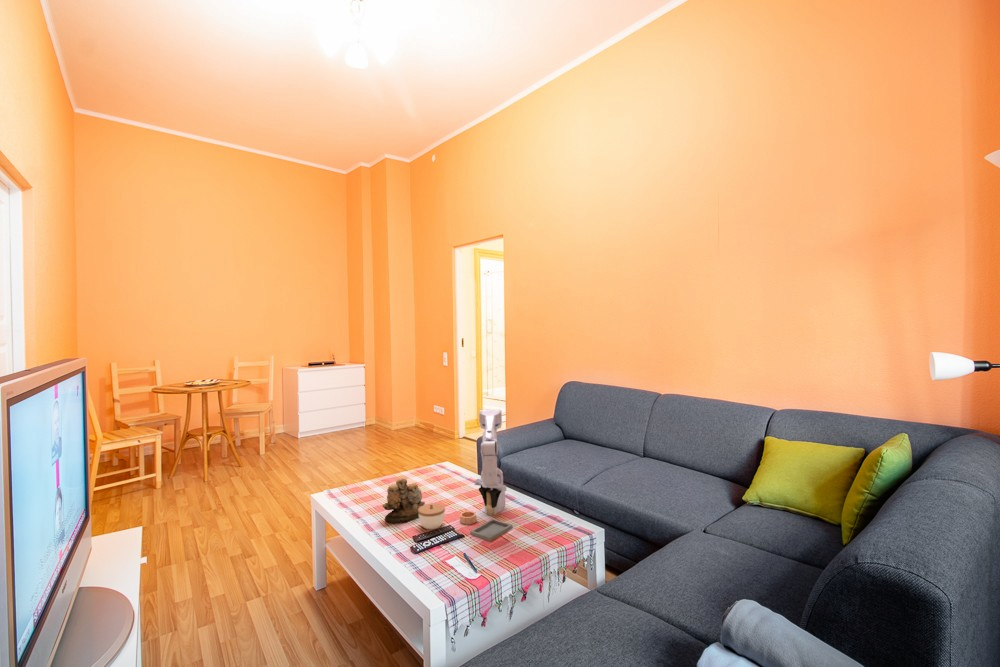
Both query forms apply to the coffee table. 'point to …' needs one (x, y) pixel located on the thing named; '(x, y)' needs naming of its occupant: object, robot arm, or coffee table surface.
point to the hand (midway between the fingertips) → (490, 506)
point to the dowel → (489, 505)
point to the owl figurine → (403, 502)
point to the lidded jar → (431, 515)
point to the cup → (468, 517)
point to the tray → (491, 529)
